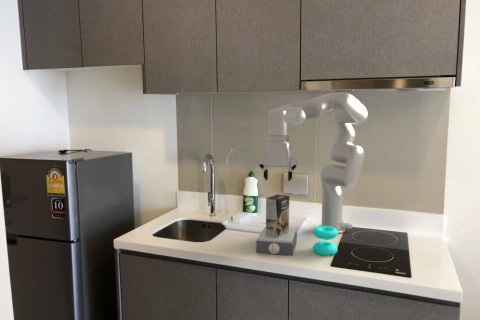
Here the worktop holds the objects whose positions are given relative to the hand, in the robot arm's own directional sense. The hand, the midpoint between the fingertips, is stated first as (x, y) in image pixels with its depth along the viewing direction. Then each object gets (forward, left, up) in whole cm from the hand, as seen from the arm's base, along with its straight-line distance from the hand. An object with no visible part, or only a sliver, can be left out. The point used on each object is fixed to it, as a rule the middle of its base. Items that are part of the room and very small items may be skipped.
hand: (277, 180), depth 164 cm
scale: (0, 0, -29) cm, 29 cm away
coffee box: (0, 0, -24) cm, 24 cm away
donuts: (-20, +1, -30) cm, 36 cm away
